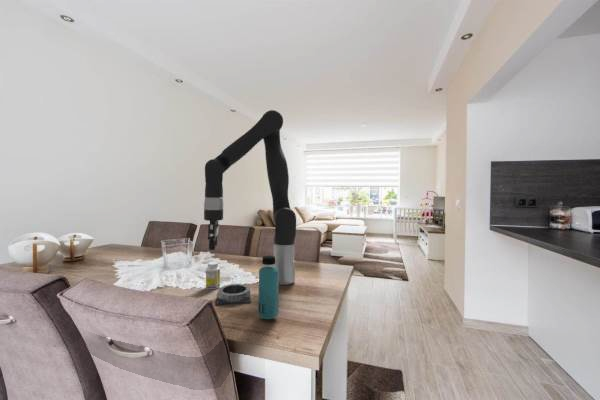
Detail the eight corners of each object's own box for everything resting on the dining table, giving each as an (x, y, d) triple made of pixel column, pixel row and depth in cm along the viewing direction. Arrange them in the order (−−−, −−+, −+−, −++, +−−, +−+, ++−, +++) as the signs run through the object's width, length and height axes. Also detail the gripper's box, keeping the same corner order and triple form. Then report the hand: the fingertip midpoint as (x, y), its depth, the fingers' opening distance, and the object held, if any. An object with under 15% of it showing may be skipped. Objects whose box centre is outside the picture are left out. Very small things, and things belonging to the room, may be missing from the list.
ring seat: (250, 290, 104) (250, 282, 104) (250, 302, 92) (250, 294, 92) (219, 292, 101) (219, 284, 101) (216, 305, 90) (216, 296, 90)
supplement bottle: (215, 284, 111) (215, 260, 110) (222, 287, 107) (222, 262, 107) (203, 287, 106) (203, 263, 106) (210, 291, 103) (210, 265, 102)
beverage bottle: (281, 316, 83) (282, 254, 82) (273, 326, 77) (274, 259, 76) (263, 312, 85) (264, 252, 84) (253, 322, 79) (254, 257, 78)
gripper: (221, 209, 100) (221, 251, 100) (224, 207, 114) (223, 244, 114) (201, 209, 98) (200, 251, 98) (206, 207, 112) (206, 244, 112)
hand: (213, 247), depth 106 cm, fingers open, 8 cm apart
